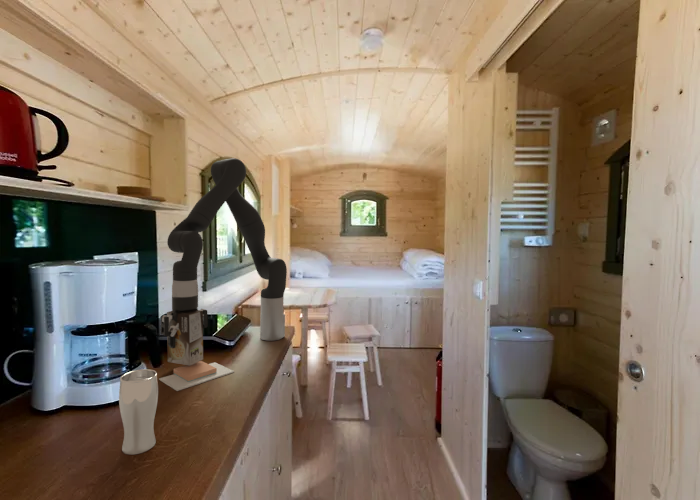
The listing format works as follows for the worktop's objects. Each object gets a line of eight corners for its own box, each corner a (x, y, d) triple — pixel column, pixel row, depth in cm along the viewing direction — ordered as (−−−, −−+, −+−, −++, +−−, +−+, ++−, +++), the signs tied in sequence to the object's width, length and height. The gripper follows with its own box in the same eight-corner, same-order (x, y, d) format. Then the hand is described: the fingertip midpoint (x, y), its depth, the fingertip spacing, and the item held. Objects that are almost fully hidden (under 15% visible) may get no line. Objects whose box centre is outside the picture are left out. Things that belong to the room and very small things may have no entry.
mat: (215, 363, 122) (215, 362, 122) (234, 372, 115) (234, 371, 115) (159, 379, 108) (159, 378, 108) (177, 391, 101) (177, 389, 101)
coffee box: (204, 359, 118) (204, 310, 117) (189, 366, 112) (189, 314, 111) (181, 355, 121) (181, 307, 120) (166, 362, 115) (165, 311, 114)
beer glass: (149, 432, 81) (149, 366, 80) (164, 445, 76) (164, 375, 75) (114, 446, 75) (113, 375, 74) (127, 460, 71) (126, 385, 70)
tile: (201, 360, 118) (216, 368, 113) (201, 365, 119) (216, 372, 113) (173, 368, 111) (188, 376, 106) (173, 373, 112) (188, 381, 106)
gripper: (200, 289, 123) (200, 337, 124) (156, 295, 112) (156, 347, 113) (212, 292, 118) (212, 342, 119) (167, 298, 107) (167, 353, 108)
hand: (185, 344), depth 116 cm, fingers closed on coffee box, 7 cm apart
